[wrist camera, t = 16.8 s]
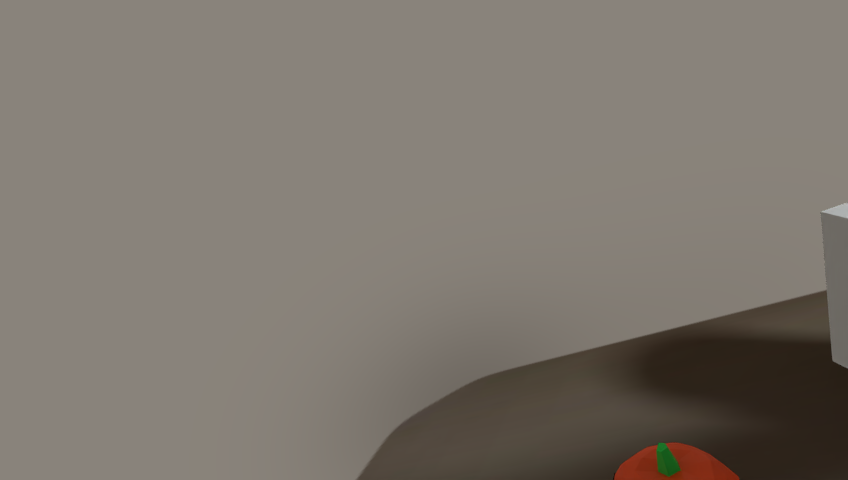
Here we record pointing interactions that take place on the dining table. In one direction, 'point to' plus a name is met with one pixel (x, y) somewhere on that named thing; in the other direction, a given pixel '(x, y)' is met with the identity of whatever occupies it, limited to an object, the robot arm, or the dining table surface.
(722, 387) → the dining table surface
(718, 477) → the pumpkin
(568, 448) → the dining table surface
